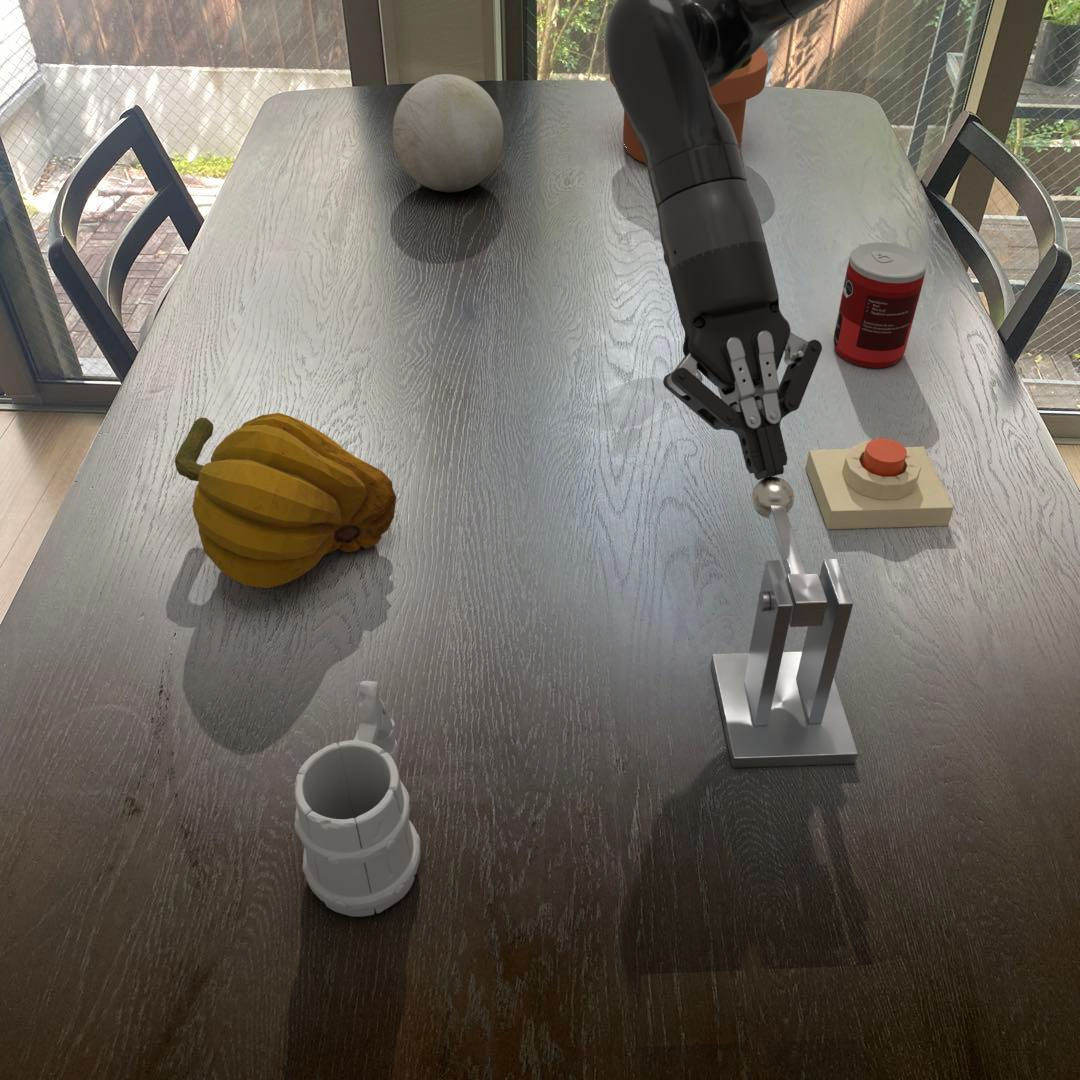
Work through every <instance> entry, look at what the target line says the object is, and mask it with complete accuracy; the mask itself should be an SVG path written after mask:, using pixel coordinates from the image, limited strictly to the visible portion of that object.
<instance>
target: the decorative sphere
mask: <svg viewBox="0 0 1080 1080" xmlns="http://www.w3.org/2000/svg"><path fill="white" fill-rule="evenodd" d="M504 138H505V137H504V124H503V119H502V116H501V112H500V110H499V108H498V105H496V103H495V100H494V99H493V98H492V97H491V95H490V94H489V93H488V92H487V91H486V90H485V88H483V87H482V86H481V85H479V84H478V83H477V82H475V81H473V80H471V79H470V78H467V77H464V76H462V75H459V74H458V75H457V74H451V73H450V74H448V73H442V74H436V75H432V76H429V77H425V78H424V79H421V80H420V81H418V82H417V83H415V84H414V85H412V86H411V88H410V89H408V90H407V92H406V93H405V94H404V95H403V97H402V98H401V100H400V101H399V103H398V105H397V107H396V110H395V113H394V116H393V121H392V142H393V146H394V150H395V153H396V155H397V158H398V160H399V163H401V165H402V167H403V169H404V170H405V171H406V172H407V173H408V175H409V176H411V178H412V179H414V180H415V181H416V182H418V183H419V184H421V186H424V187H426V188H428V189H430V190H434V191H437V192H440V193H441V192H442V193H458V192H462V191H466V190H469V189H471V188H473V187H475V186H477V185H479V184H481V182H483V181H484V180H485V179H486V178H487V177H488V176H489V175H490V174H491V172H492V171H493V170H494V168H495V167H496V166H497V163H498V161H499V160H500V156H501V153H502V149H503V146H504V145H503V144H504Z"/></svg>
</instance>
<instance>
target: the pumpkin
mask: <svg viewBox="0 0 1080 1080" xmlns="http://www.w3.org/2000/svg"><path fill="white" fill-rule="evenodd" d="M213 432H214V424H213V422H211V421H210V420H209V418H207V417H199V418H198V419H196V420H194V421H193V423H192V425H191V427H190V429H189V431H188V433H187V435H186V437H185V439H184V440H183V442H182V444H181V445H180V448H179V449H178V451H177V453H176V455H175V457H174V465H175V469H176V471H177V473H178V475H180V476H182V477H184V478H187V479H188V480H189V481H191V482H192V481H193V482H198V483H197V484H196V486H195V490H194V495H193V502H192V503H193V504H192V512H193V517H194V519H195V521H196V524H197V526H198V527H197V528H198V534H199V538H200V542H201V545H202V548H203V552H204V553H205V554H206V556H207V557H208V558H209V559H210V560H211V561H212V563H213V564H214V565H215V566H216V567H217V569H218V570H220V573H222V574H224V575H226V576H227V577H230V578H231V579H233V580H234V581H236V582H238V583H240V584H242V585H243V586H249V587H254V588H255V587H257V588H262V589H263V588H265V589H270V588H275V587H277V586H282V585H286V584H288V583H290V582H291V581H294V580H296V579H298V578H300V577H302V576H303V575H304V574H306V573H308V572H309V571H311V570H312V569H314V567H316V565H318V564H319V562H320V561H321V560H322V558H323V557H324V556H325V555H326V554H328V553H329V554H330V553H333V552H335V551H336V550H337V549H339V550H340V551H342V552H345V553H350V552H351V553H353V552H357V551H359V550H360V549H361V547H362V548H364V549H365V550H368V549H369V548H370V547H373V546H375V545H377V544H379V542H380V541H381V539H382V535H383V534H385V533H386V532H387V531H389V529H390V527H391V525H392V523H393V521H394V518H395V511H396V504H397V495H396V492H395V490H394V488H393V481H392V480H391V479H390V477H388V475H386V474H385V472H384V471H383V470H381V469H379V468H378V467H375V466H374V465H372V464H370V463H368V462H367V461H364V460H362V459H360V458H358V457H357V456H355V455H353V454H352V453H350V452H349V451H348V450H346V449H344V447H342V446H341V445H340V444H339V443H337V442H336V441H335V440H333V439H332V438H330V436H328V435H326V434H325V433H323V432H321V431H320V430H318V429H316V428H315V427H313V426H311V424H308V423H306V422H304V421H303V420H301V419H298V418H295V417H292V415H287V414H285V413H280V412H275V413H267V414H261V415H259V416H257V417H254V418H253V419H250V420H248V421H245V422H244V423H242V425H241V426H240V427H239V428H237V429H235V430H233V431H232V432H230V433H229V434H228V435H226V436H225V437H224V438H223V439H222V440H221V441H220V443H218V444H217V445H216V447H215V449H214V450H213V452H212V454H211V457H210V462H207V463H205V464H204V465H202V464H199V463H197V462H198V459H199V458H200V456H201V453H202V451H203V449H204V446H205V444H206V443H207V441H208V440H209V439H210V438H212V436H213Z"/></svg>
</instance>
